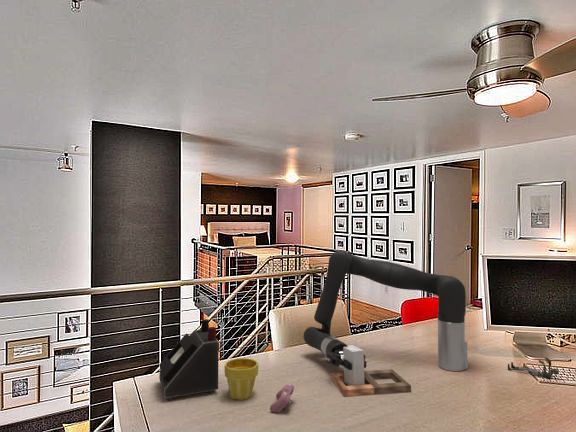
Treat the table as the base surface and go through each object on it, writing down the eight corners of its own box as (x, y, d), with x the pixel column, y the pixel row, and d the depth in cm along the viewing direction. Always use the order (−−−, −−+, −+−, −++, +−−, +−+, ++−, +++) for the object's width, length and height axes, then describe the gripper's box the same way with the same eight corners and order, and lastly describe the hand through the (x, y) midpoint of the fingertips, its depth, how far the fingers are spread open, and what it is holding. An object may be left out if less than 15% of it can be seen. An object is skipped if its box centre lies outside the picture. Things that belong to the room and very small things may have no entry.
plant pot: (256, 402, 116) (256, 369, 116) (221, 402, 116) (221, 369, 116) (259, 388, 126) (259, 357, 126) (227, 388, 126) (227, 357, 126)
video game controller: (282, 420, 109) (293, 398, 108) (267, 411, 109) (278, 389, 109) (288, 404, 118) (298, 384, 118) (275, 396, 119) (285, 376, 119)
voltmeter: (158, 383, 130) (159, 322, 131) (207, 375, 137) (207, 318, 137) (163, 403, 115) (164, 335, 116) (218, 393, 122) (218, 329, 122)
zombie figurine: (511, 349, 145) (560, 359, 135) (511, 368, 145) (560, 379, 134) (507, 352, 142) (556, 363, 131) (507, 371, 141) (556, 383, 131)
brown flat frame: (392, 375, 137) (392, 369, 137) (411, 391, 123) (411, 385, 123) (331, 378, 134) (331, 373, 134) (343, 396, 120) (343, 390, 120)
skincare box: (365, 387, 126) (365, 350, 126) (353, 390, 124) (353, 351, 124) (354, 380, 131) (354, 344, 132) (342, 383, 130) (342, 346, 130)
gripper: (316, 341, 139) (338, 356, 123) (352, 337, 144) (377, 351, 128) (316, 362, 139) (338, 380, 123) (352, 357, 144) (377, 375, 128)
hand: (358, 366), depth 125 cm, fingers closed on skincare box, 4 cm apart
